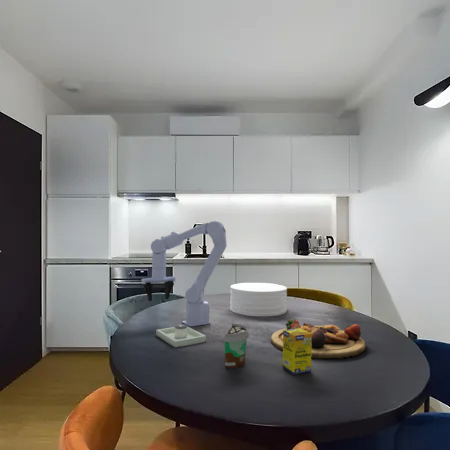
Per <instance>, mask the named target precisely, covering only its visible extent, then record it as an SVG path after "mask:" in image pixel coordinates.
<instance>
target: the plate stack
mask: <svg viewBox="0 0 450 450" xmlns="http://www.w3.org/2000/svg"><path fill="white" fill-rule="evenodd" d="M287 291H288V287H287V286H285V285H282V284H277V283H270V282H240V283H239V282H238V283H235V284H231V285H230V291H229V292H230V297H229V299H230V301H229V303H230V304H229V305H230V306H229V309H230V311H231V312H233V313H234V314H238V315H244V316H249V317H250V316H251V317H274V316H280V315H283V314H285V313H287V312H288V309H287V305H288V303H287V301H288V298H287V297H288V296H287V295H288V292H287Z"/></svg>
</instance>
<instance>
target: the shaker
mask: <svg viewBox="0 0 450 450" xmlns="http://www.w3.org/2000/svg"><path fill="white" fill-rule="evenodd" d="M187 326H188V325H186V324H184V323H177V324H175V325H174V327H175V335H174V337H175V338H177V339H183V338H186V337H187Z"/></svg>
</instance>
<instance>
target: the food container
mask: <svg viewBox="0 0 450 450" xmlns="http://www.w3.org/2000/svg"><path fill="white" fill-rule="evenodd" d="M249 338H250V334H249V329H248V328H247V326H245V325H242V324H239V323H231V328H229V330H228V331H227V333H224V340H223V341H224V368H225V369H236V368H240V367H243V366H244V365H245V363H246V352H247V342H248V341H247V339H249Z"/></svg>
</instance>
